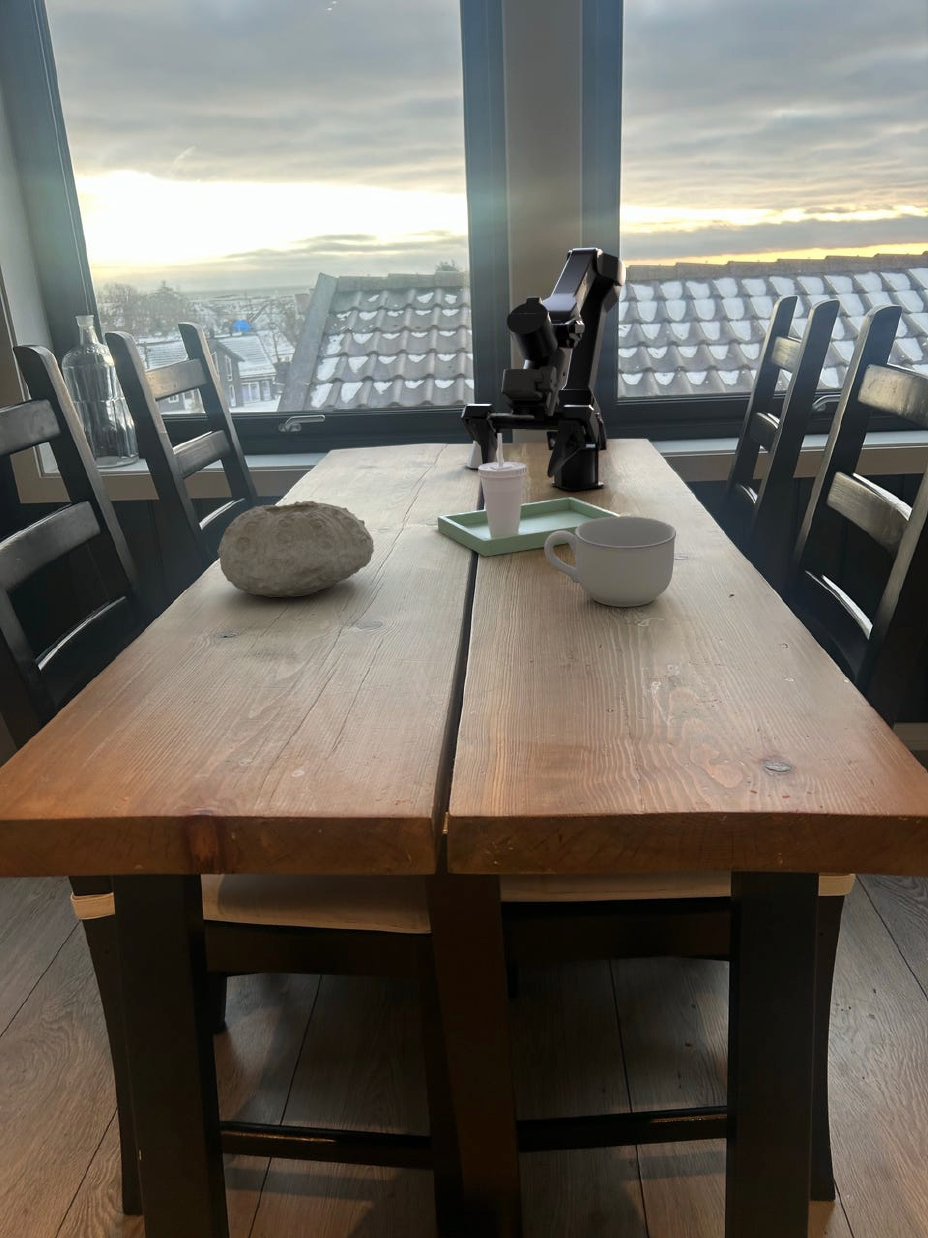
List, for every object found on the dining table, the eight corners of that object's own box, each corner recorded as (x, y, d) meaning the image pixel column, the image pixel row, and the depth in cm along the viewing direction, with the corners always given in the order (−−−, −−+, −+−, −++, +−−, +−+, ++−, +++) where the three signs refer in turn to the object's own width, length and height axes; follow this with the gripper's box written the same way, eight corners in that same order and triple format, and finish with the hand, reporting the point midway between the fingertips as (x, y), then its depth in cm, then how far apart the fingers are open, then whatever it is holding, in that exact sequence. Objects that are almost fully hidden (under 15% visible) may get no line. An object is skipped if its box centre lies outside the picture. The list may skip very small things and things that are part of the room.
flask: (506, 461, 187) (505, 407, 184) (504, 469, 181) (502, 413, 177) (468, 462, 188) (466, 409, 185) (464, 470, 182) (462, 414, 178)
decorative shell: (259, 564, 128) (251, 487, 125) (393, 567, 125) (388, 488, 121) (197, 610, 112) (185, 522, 109) (348, 614, 108) (341, 524, 105)
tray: (571, 510, 149) (571, 496, 148) (629, 533, 135) (629, 518, 135) (438, 530, 141) (437, 516, 140) (484, 556, 127) (484, 540, 127)
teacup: (680, 587, 113) (682, 517, 110) (666, 618, 103) (668, 543, 100) (560, 579, 117) (559, 512, 114) (535, 609, 107) (534, 537, 105)
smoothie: (473, 542, 132) (469, 436, 128) (490, 530, 138) (487, 428, 133) (519, 545, 130) (516, 437, 125) (534, 533, 136) (532, 429, 131)
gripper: (462, 345, 139) (435, 438, 133) (593, 343, 132) (570, 442, 126) (485, 395, 148) (460, 484, 143) (608, 396, 141) (587, 489, 136)
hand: (516, 474), depth 136 cm, fingers open, 9 cm apart
